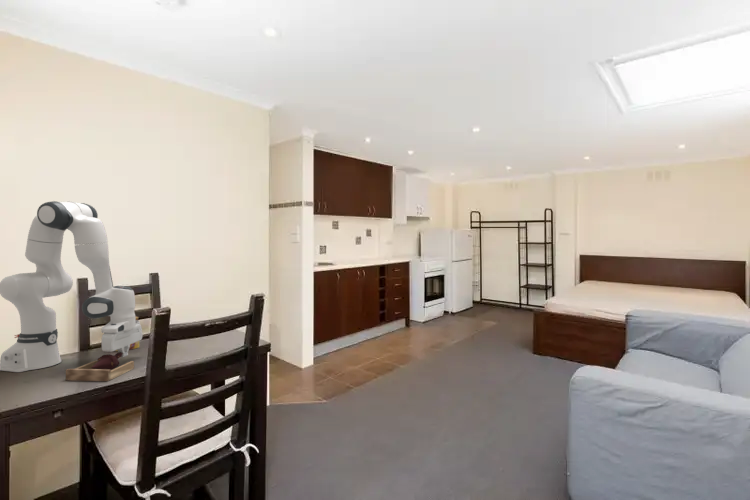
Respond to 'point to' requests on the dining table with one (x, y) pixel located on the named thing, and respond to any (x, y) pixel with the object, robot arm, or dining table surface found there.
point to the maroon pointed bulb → (107, 361)
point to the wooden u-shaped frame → (97, 372)
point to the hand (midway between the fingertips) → (123, 356)
